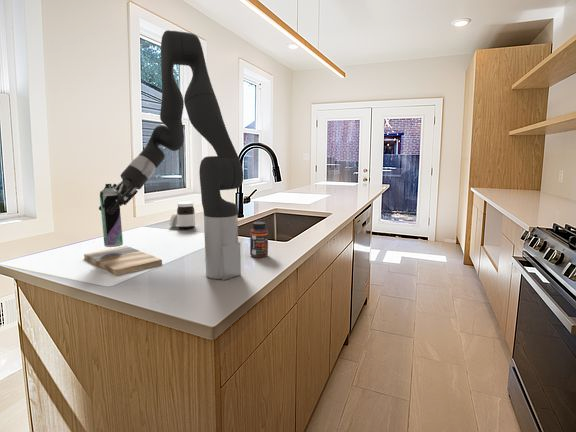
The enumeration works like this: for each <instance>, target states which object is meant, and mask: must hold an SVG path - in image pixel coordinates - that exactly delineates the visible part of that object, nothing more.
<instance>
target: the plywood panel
mask: <svg viewBox="0 0 576 432" xmlns="http://www.w3.org/2000/svg"><path fill="white" fill-rule="evenodd" d="M83 256H84V258H83V259H84V260H87V261H88V262H90V263H92V264H94V265H96V266H98V267H100V268H102V269H103V270H106V271H107V272H109V273H111V274H112V275H115V276H120V275H123V274H127V273H128V274H129V273H132V272H137V271H140V270H144V269H149V268H152V267H156V266H161V264H162V265H163V260H162V259H161V258H158V257H156V256H155V255H154V256H153V255H151V254H148V253H146V252H144V251H141V250H140V249H139V250H138V249H136V248H133V247H131V246H127V245H126V246H118V247H113V248H109V249H103V250H99V251H94V252H89V253H83Z"/></svg>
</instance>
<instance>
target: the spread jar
mask: <svg viewBox="0 0 576 432" xmlns="http://www.w3.org/2000/svg"><path fill="white" fill-rule="evenodd" d="M194 207H195V206H194V202H192V201H179V202H177V209H176V212H174V213H172V215H171V217H170V218H169V219H170V220H169V222H168V224H169V226H170V227H171V228H175V227H176V226H177V229H178V230H180V231H181V230H182V231H187V230H188V231H189V230H190V231H191V230H193V229H195V228H196V216H195V215H196V213H195V212H196V211H195V208H194Z"/></svg>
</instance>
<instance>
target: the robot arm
mask: <svg viewBox="0 0 576 432" xmlns="http://www.w3.org/2000/svg"><path fill="white" fill-rule="evenodd" d="M201 43H202V42H201V41H200V39H199V37H198V35H196V34H194V33H192V32H187V31H181V30H175V29H173V30H172V29H166V30H165V31H164V32H163V33H162V36H161V42H160V65H161V66H160V67H161V68H160V70H161V71H160V72H161V103H160V104H161V105H160V113H159V119H160V122H161V123H160V124H158V125H157V126H155V128H153V131H152V133H151V135H150V138H149V140H148V142H147V143H146V145H145V147H144V148H143V150H142V151H141V152H140V153H139V154H138V155H137V156H136V157H135V158H134V159H133V160H132V161H131V162H130V164H128V165H127V167H126V168H125V169H124V170H123V171H122V172H121V173H120V178H121V182H119V183H118V184H116V183H113V184H112V187H113V189H115V190H117V191H118V192H117V197H116V199H115V202H113V203H112V204H111V205H110V206H109V208H108V209H107V210H106V211H107V212H108V213H109V214H111V215H113V214H114V213H115V211H116V210H117V209H118V208H119V207H120V208H121V206H123V205H124V206H126V205H127V204H128V203H129V202H130V201H131V200H132V199H133V198H134V196H135V195H137V194H138V190H141V189H142V188H143V186H144V185H145V184H146V182H148V180H149V179H150V178H151V177H152V176H153V174H154V172H155V171H156V169H158V167H159V166H160V165H161V163H162V162H163V161H164V160H165V153H164V151H163V150H161V148H159V146H160V145H161V146H163V147H164V148H166V149H168V150H170V151H173V152H175V151H176V152H177V151H179V150H180V149H181V148H182V147H183V145H184V140H185V134H184V127H183V121H182V120H183V113H184V107H185V110H186V115H187V116H188V119H189V122H190V124H191V125H192V127H193V128H194V129H195V130H196V131H197V132H198V133H199V134H200V135H201V136H202V137H203V138H204V139H205V140H206V142H207V143H208V144H210V145H211V147H212V148H213V149H214V151H215V154H216V155H215V156H214V155H211V156H210V155H209V156H205V157H203V158H202V160H201V161H200V166H199V185H200V186H199V187H200V194H201V195H200V196H201V205H202V209H203V232H204V233H203V234H204V256H205V257H204V259H205V260H204V261H205V262H204V263H205V275H206V277H207V278H210V279H215V280H222V281H225V280H226V281H227V280H228V279H232V278H235V277H237V276H241V275H242V265H241V263H242V261H241V257H242V255H241V242H240V241H239V226H238V225H239V223H238V222H239V220H238V218H239V216H238V205H237V204H236V203H234V202H231V201H228V200H226V199H223V198H222V195H221V191H226V190H227V191H229V190H237V189H239V188H240V187H241V186H242V185H243V182H244V170H243V165H242V163H241V161H240V160H241V159H240V157H239V156H238V153H237V151H236V149H235V147H234V144H233V142H232V139H231V138H230V135H229V132H228V130H227V127H226V123H225V122H224V119H223V115H222V111H221V108H220V106H219V102H218V99H217V96H216V94H215V90H214V88H213V85H212V82H211V78H210V75H209V72H208V69H207V64H206V63H207V62H206V58H205V54H204V50H203V46H202V44H201ZM175 65H176V66H185V67H186V66H189V68H190V69H191V72H192V77H191V80H190V82H189V84H188V86H187V88H186V91H185V93H184V97H183V94H182V92H181V90H180V87H179V86H178V83H177V81H176V78H175V76H174V66H175ZM98 210H99V211H101V205H100V206H99V207H98Z"/></svg>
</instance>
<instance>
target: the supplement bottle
mask: <svg viewBox="0 0 576 432" xmlns="http://www.w3.org/2000/svg"><path fill="white" fill-rule="evenodd" d="M249 240H250V241H249V249H250V250H249V251H250V257H253V258H257V259H259V258H260V259H261V258H265V257H267V256H268V255H269V253H268V252H269V231H268V229H267V228H266V222H264V221H254V222H252V228H251V229H250V231H249Z"/></svg>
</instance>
